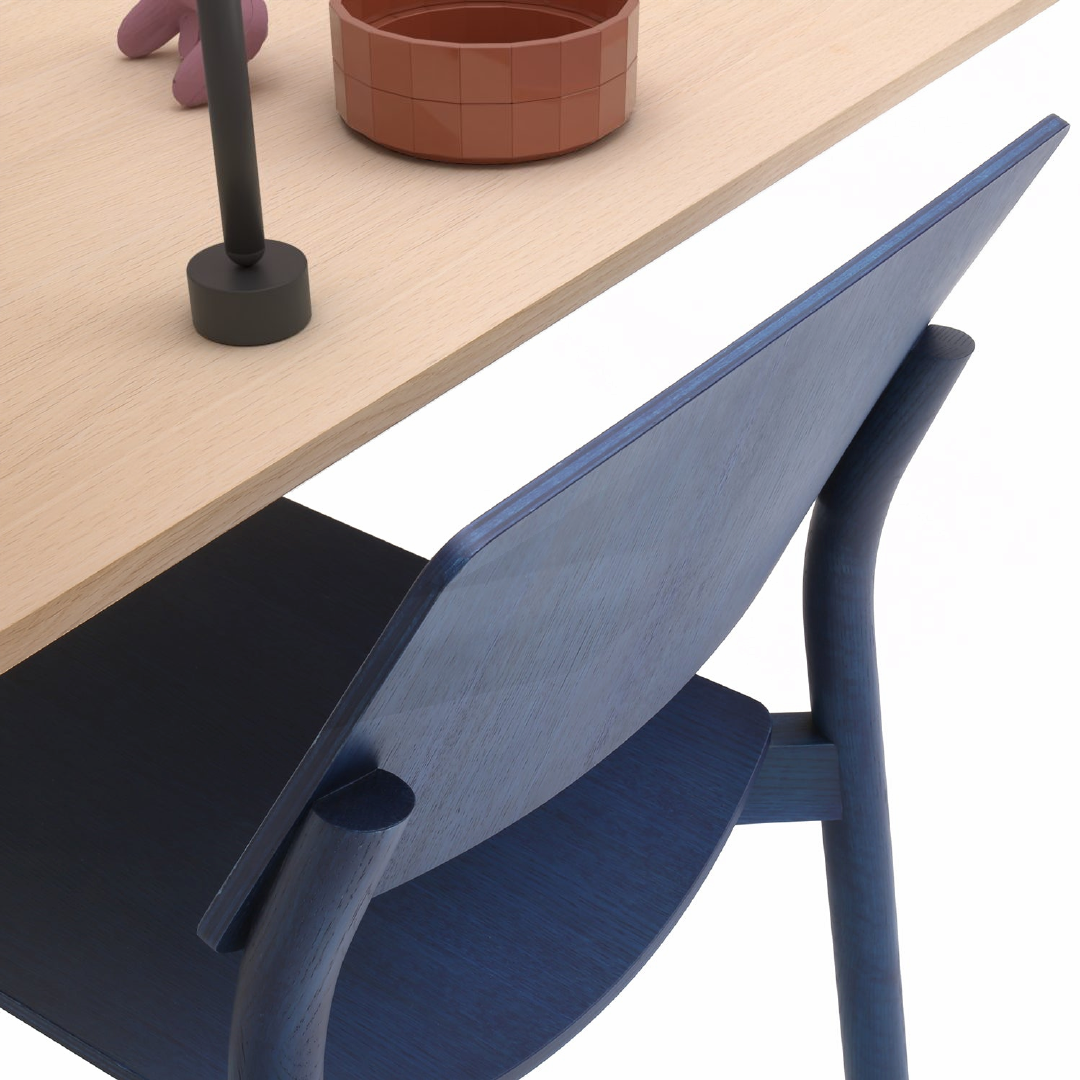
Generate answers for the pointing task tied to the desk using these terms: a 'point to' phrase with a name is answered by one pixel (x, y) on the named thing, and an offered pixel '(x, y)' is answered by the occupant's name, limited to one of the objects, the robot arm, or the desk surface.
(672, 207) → the desk surface
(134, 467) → the desk surface
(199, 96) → the video game controller
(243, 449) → the desk surface
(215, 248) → the black post
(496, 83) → the bowl
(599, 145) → the desk surface
